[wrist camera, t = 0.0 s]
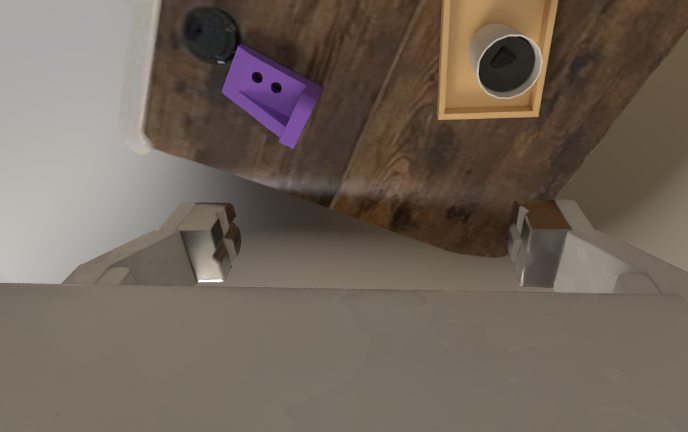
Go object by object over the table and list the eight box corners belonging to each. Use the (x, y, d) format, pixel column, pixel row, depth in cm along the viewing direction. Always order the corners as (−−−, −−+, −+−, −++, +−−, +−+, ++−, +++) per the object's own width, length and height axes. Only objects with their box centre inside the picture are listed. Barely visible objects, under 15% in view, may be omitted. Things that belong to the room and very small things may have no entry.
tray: (443, -25, 51) (445, -24, 49) (557, -33, 49) (564, -32, 47) (436, 113, 60) (438, 119, 58) (533, 110, 58) (538, 116, 56)
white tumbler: (452, 55, 55) (463, 76, 47) (489, 6, 52) (507, 20, 43) (493, 85, 57) (510, 110, 48) (531, 39, 53) (557, 58, 45)
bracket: (323, 88, 59) (315, 104, 53) (302, 129, 63) (293, 149, 57) (241, 43, 57) (224, 55, 51) (225, 89, 61) (207, 104, 55)
